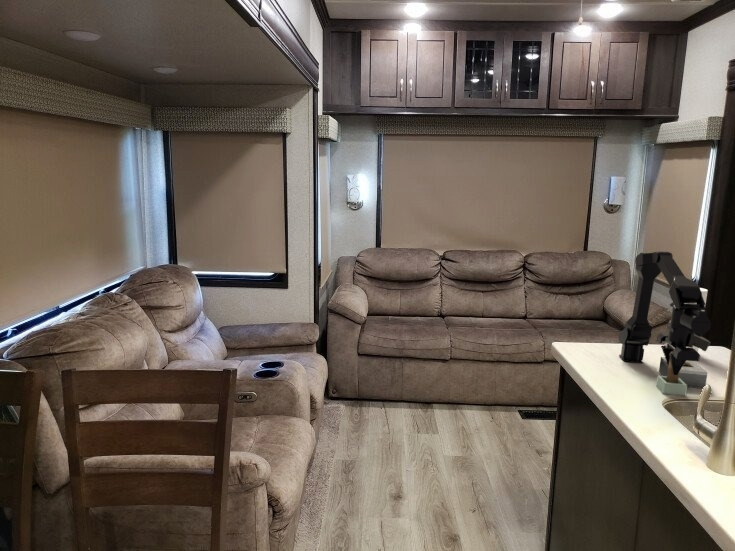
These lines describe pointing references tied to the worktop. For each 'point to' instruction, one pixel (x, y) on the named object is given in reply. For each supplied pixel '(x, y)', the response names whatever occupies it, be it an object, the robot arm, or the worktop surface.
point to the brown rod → (671, 374)
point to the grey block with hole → (687, 373)
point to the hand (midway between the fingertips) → (673, 372)
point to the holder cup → (671, 386)
